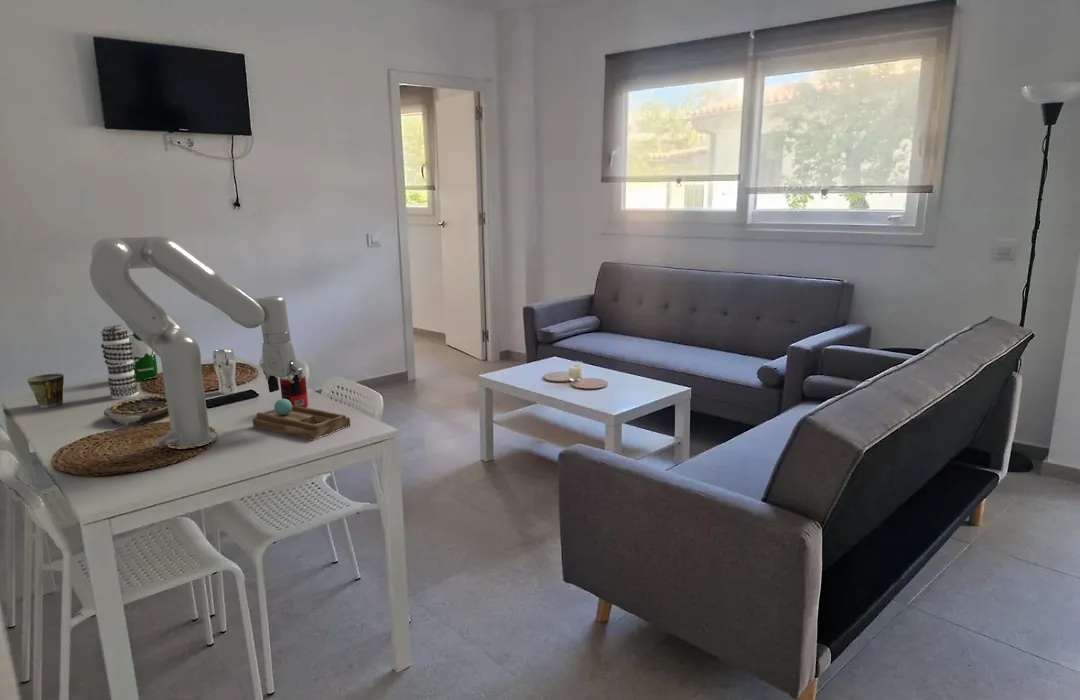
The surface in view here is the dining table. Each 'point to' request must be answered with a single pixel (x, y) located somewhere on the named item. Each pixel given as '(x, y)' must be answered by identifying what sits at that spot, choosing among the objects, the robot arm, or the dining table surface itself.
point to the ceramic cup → (47, 389)
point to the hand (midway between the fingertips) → (285, 392)
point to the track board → (302, 422)
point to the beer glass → (225, 370)
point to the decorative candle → (119, 362)
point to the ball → (283, 406)
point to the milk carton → (142, 358)
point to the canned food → (297, 399)
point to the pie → (139, 410)
